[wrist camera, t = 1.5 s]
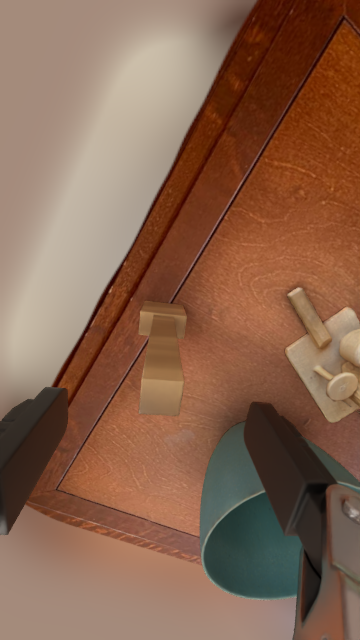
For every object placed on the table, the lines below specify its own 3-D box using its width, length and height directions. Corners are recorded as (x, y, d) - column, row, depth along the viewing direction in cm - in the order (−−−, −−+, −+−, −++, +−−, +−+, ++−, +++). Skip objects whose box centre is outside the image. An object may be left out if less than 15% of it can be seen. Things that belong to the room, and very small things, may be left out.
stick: (144, 300, 25) (114, 372, 9) (182, 304, 25) (211, 380, 10) (143, 319, 25) (111, 416, 10) (180, 323, 26) (202, 421, 11)
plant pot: (254, 499, 36) (297, 616, 24) (164, 460, 32) (164, 577, 20) (328, 425, 32) (421, 521, 21) (237, 370, 28) (289, 450, 17)
